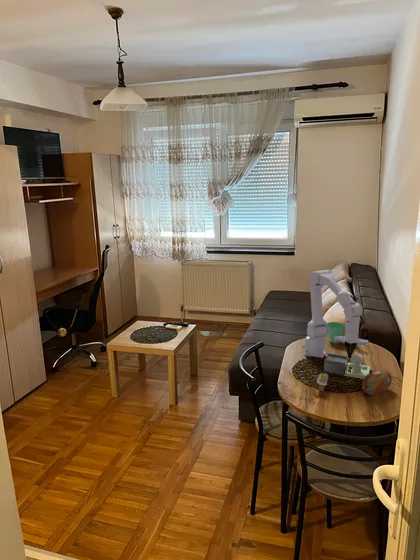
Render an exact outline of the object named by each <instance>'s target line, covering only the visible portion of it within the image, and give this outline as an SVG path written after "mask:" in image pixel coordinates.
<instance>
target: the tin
mask: <svg viewBox="0 0 420 560" xmlns="http://www.w3.org/2000/svg"><path fill="white" fill-rule="evenodd" d="M391 383H392V375H391V373H390V372H388V371H385V370H378V371H376V372H372V373H369V374H368V375H367V376H366V377H365V378H364V379H363V380H362V383H361V386H362V391H363V392H364V393H365V394H368V395H369V396H374V395H377V394H379V393H382V392H386V391H387V390H388V389H389V388H390V386H391Z"/></svg>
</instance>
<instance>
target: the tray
mask: <svg viewBox="0 0 420 560" xmlns="http://www.w3.org/2000/svg"><path fill="white" fill-rule="evenodd" d="M349 367H352V362H347V367H346V370H345V374H344V376H350V377H355V378H360V379H359V380H361V379H364V378H365V377H366V376H367V375H368V374H370V373H371V372H370V371H371V365H366V364H361V374H356V373H350V372H348V370H349ZM355 378H354V379H355Z"/></svg>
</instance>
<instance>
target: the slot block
mask: <svg viewBox="0 0 420 560" xmlns="http://www.w3.org/2000/svg"><path fill="white" fill-rule="evenodd" d="M326 354H327V355H326V358H325V359H324V365H323V372H324V371H327V372H334V373H338V374H344V373H345V370H346V367H347V364H348V355H344V354H339V353H338V354H337V353H331V352H327V353H326ZM338 374H337V375H338ZM344 375H345V374H344Z"/></svg>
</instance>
